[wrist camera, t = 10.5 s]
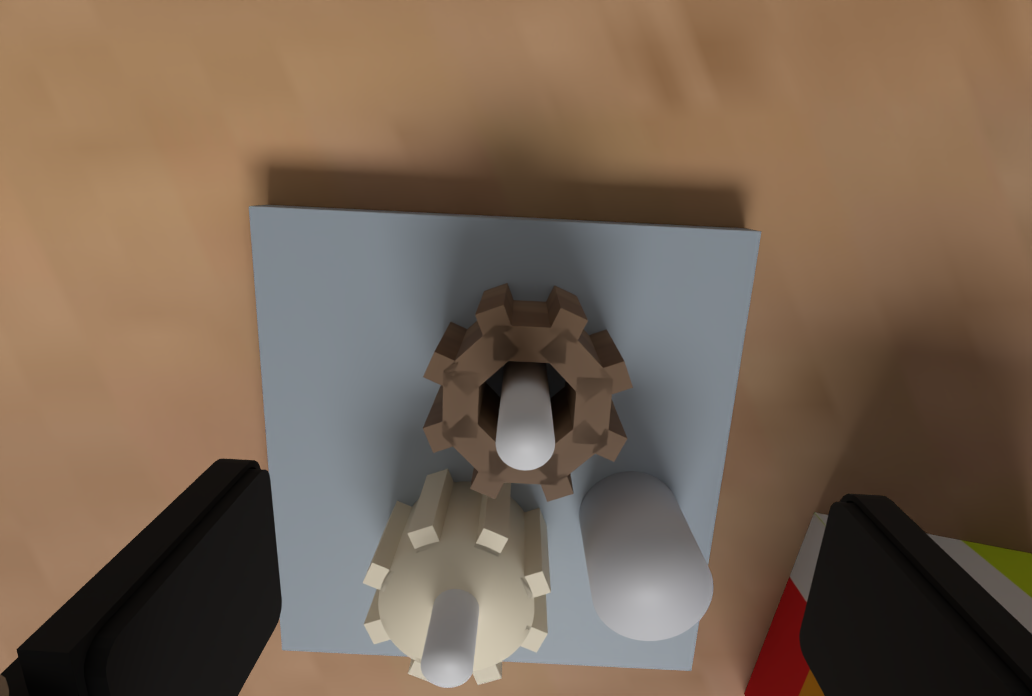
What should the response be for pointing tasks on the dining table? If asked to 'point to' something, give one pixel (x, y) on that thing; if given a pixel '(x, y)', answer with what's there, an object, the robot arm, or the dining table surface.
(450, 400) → the walnut gear
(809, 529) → the puzzle toy
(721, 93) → the dining table surface
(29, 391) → the dining table surface
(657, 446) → the gear board
